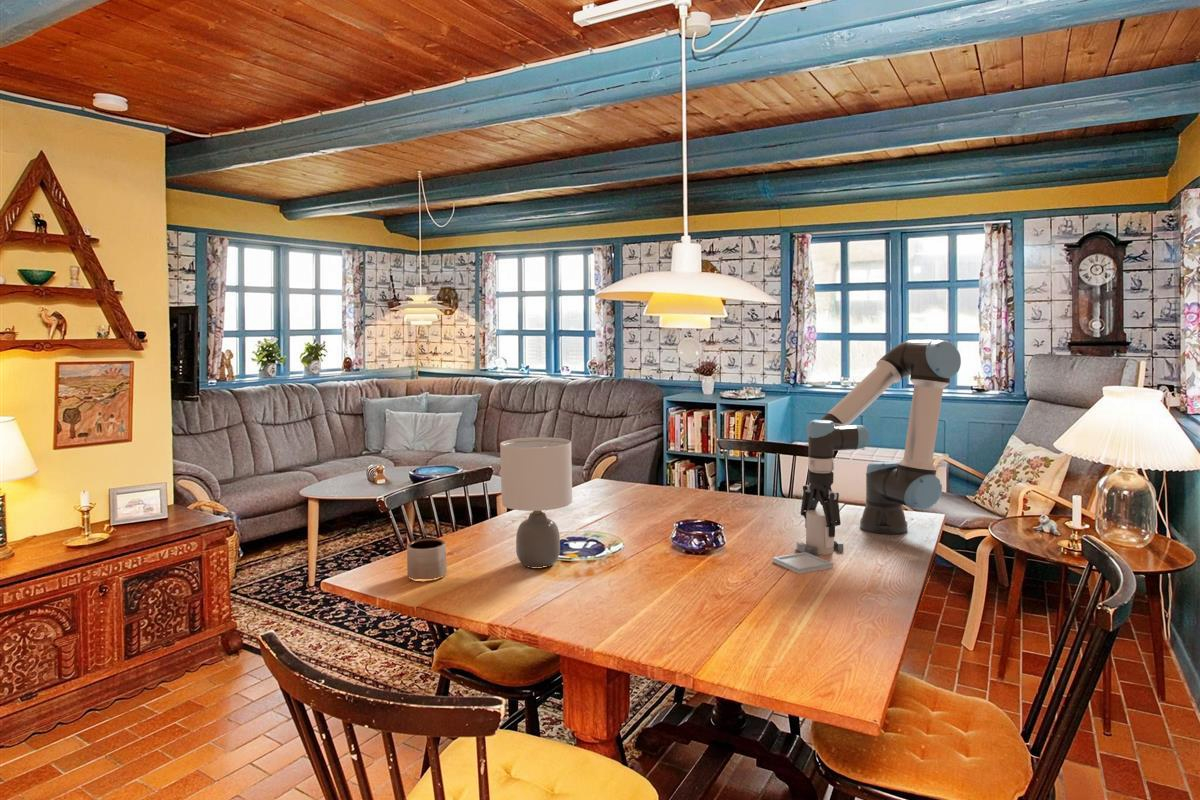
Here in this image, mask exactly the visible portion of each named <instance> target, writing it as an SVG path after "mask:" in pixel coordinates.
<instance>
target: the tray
mask: <svg viewBox="0 0 1200 800" xmlns="http://www.w3.org/2000/svg"><path fill="white" fill-rule="evenodd" d="M772 563H774V564H776V565H778V566H780V567H782V568H785V569H788V570H790V571H791V572H794V573H796V574H799V575H801V574H806V573H811V572H812V573H813V572H817V571H822V570H823V571H824V570H828V569H829V570H830V569H833V568H834V563H833V562H831V561H830V560H826V559H823V558H821V557H819V556H818V555H817V556H814V555H812V554H809V553H807V552H802V553H800V552H797V553H791V554H786V555H780V556H773V557H772Z"/></svg>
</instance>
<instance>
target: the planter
mask: <svg viewBox="0 0 1200 800" xmlns="http://www.w3.org/2000/svg"><path fill="white" fill-rule="evenodd" d="M406 559H407V560H406V563H407V565H406V566H407V568H406V569H407V570H406V571H407V572H406V573H407V578H408V577H410V578H413V579H434V578H438V577H441V576H444V575H445V574H446V573H448V571H447V567H448V566H447V549H446V541H445V540H443V539H440V538H439V539H438V538H423V539H417V540H414V541H410V542H408V543H407V544H406ZM446 575H447V574H446ZM446 575H445V576H446ZM445 576H444V577H445Z"/></svg>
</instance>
